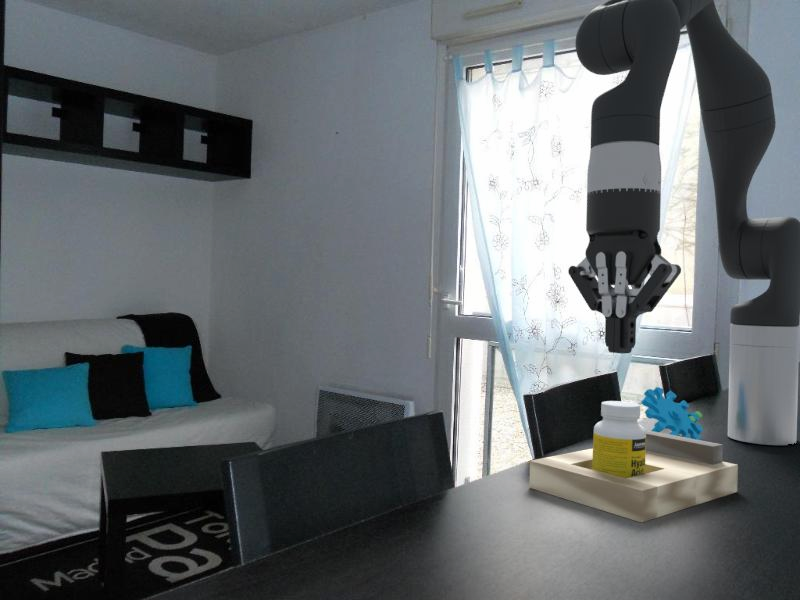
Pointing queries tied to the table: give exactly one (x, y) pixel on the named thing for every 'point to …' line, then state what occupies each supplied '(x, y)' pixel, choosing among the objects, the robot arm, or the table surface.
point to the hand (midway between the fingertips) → (619, 352)
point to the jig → (641, 478)
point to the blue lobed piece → (671, 414)
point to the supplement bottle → (619, 440)
